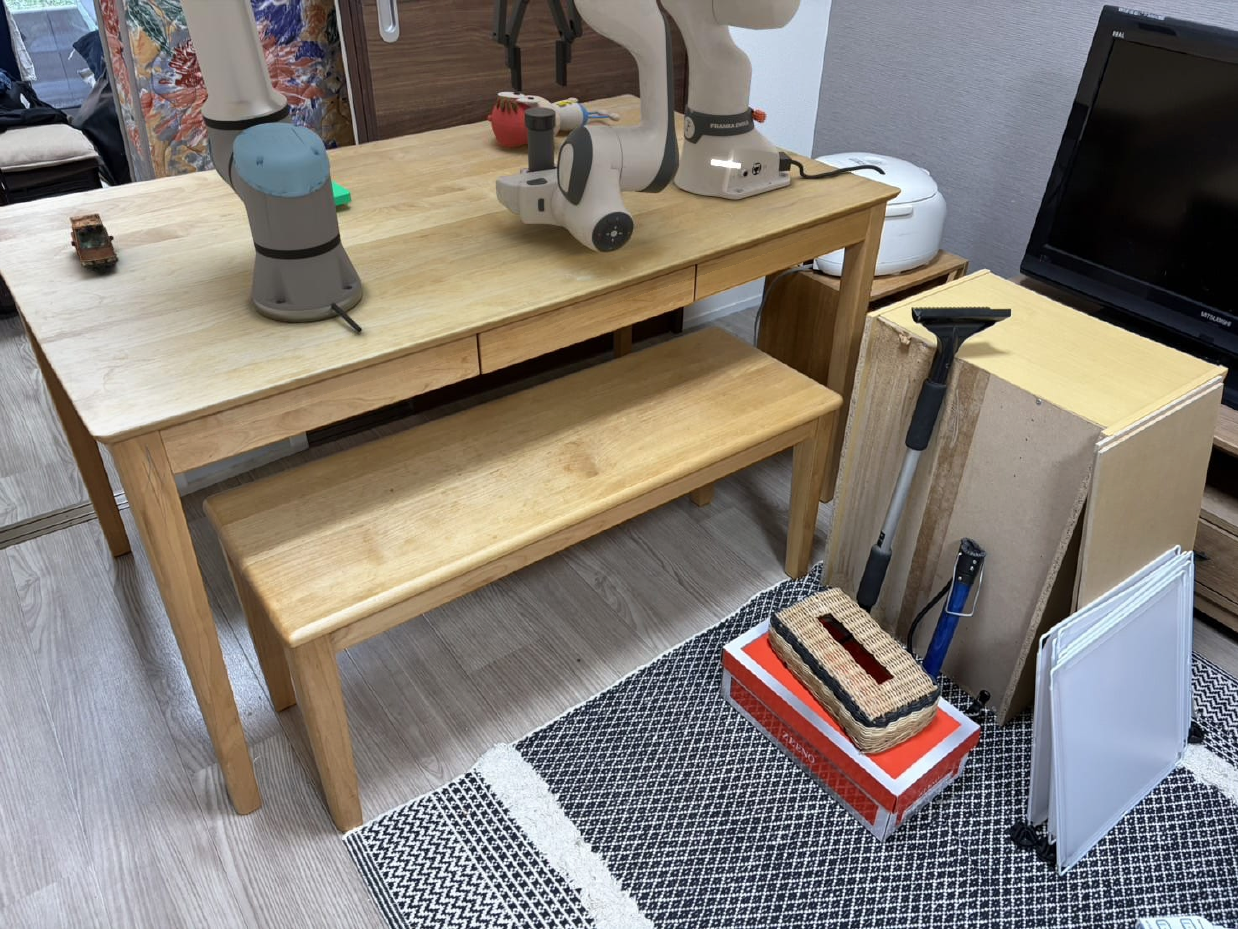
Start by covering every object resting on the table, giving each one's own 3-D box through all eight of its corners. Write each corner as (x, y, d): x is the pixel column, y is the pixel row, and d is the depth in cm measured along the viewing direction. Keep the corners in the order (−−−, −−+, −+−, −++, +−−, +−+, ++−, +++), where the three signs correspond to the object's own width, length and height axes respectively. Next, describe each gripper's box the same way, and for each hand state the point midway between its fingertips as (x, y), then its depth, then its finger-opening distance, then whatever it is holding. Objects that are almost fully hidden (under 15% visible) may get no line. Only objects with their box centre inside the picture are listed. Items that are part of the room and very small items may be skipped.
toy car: (109, 242, 148) (95, 200, 144) (132, 268, 141) (118, 225, 137) (66, 252, 145) (51, 209, 141) (87, 279, 138) (72, 235, 133)
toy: (638, 98, 193) (509, 99, 178) (634, 148, 198) (509, 154, 183) (593, 85, 207) (469, 85, 192) (590, 133, 211) (469, 136, 196)
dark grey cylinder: (526, 206, 165) (523, 111, 155) (550, 203, 167) (548, 109, 157) (534, 215, 162) (531, 119, 152) (558, 212, 163) (557, 117, 153)
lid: (521, 122, 156) (520, 108, 155) (550, 119, 158) (550, 106, 157) (530, 131, 153) (529, 117, 151) (559, 128, 154) (559, 114, 153)
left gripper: (585, -80, 144) (585, 75, 158) (462, -76, 137) (473, 86, 151) (606, -73, 139) (604, 86, 153) (479, -69, 131) (489, 98, 145)
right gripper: (629, 170, 153) (594, 144, 163) (513, 187, 145) (483, 159, 155) (628, 206, 157) (593, 179, 166) (514, 225, 149) (485, 195, 159)
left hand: (539, 86), depth 152 cm, fingers open, 7 cm apart
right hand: (539, 170), depth 161 cm, fingers closed on dark grey cylinder, 4 cm apart
